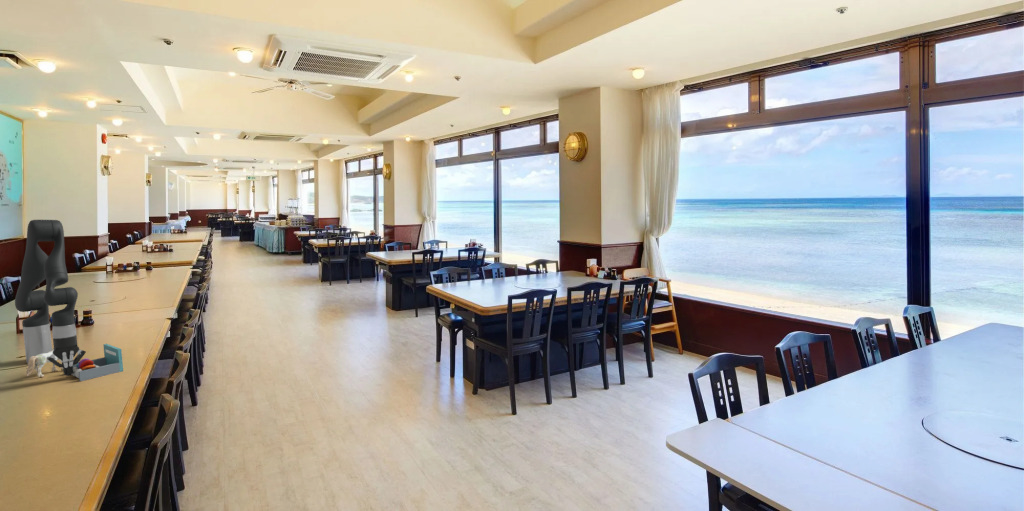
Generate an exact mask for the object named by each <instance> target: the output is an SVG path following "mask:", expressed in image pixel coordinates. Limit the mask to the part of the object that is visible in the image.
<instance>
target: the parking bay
mask: <svg viewBox="0 0 1024 511" xmlns="http://www.w3.org/2000/svg"><path fill="white" fill-rule="evenodd" d="M122 351H123V350H122V348H120V347H118V346H114V345H111V344H108V343H103V353H104V354H103V356H104V357H99V358H95V359H90V360H91V361H93V364H95V365H97V366H99V367H96V368H92V369H87V370H83V371H79V378H78V379H79V380H78V381H79V382H83V381H88V380H92V379H96V378H100V377H101V378H102V377H104V376H109V375H112V374H116V373H120V372H124V363H123V354H122ZM75 367H77V364H75V365H73V368H75Z"/></svg>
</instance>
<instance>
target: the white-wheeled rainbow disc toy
mask: <svg viewBox="0 0 1024 511" xmlns="http://www.w3.org/2000/svg"><path fill="white" fill-rule="evenodd" d="M91 360H92V359H90V358H86V357H84V358H81V360H80V361H79V362H78V364H77V367H75V368H73V374H72V375H71V376H73V377H76V378H78V379H79V371H83V370H87V369H92V368H96V367H99V366H97V365H95V364H93V361H91Z"/></svg>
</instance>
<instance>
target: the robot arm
mask: <svg viewBox="0 0 1024 511" xmlns="http://www.w3.org/2000/svg"><path fill="white" fill-rule="evenodd" d="M26 230H27V231H26V243H25V244H26V245H25V252H24V257H23V261H22V267H21V275H20V281H19V285H18V287H17V291H16V295H15V299H14V306H15V310H17V311H18V312H20V313H26V312H27V313H28V312H34V311H35V313H34V314H32V315H31V316H28V317H27V318H24V319H23V320H22V321H21V323H22V324H21V325H22V333H23V334H22V335H23V341H24V343H23V344H24V352H25V360H26V361H25V362H26V364H28V362H29V358H30V357H32V356H37V355H39V354H44V353H48V352H49V351H51V350H52V349H53V348H54V351H53V354H52V355H51V356H50V357H47V360H49V361H50V362H49V363H52V365H53V364H55V367H58V368H61V367H63V371H62V374H63V375H65V376H66V377H69V376H73V375H72V374H73V365H75V364H78V363H79V362H80V361H81V360H82V359H83V357H84V356H85V355H86V352H87V351H86V350H83V349H80V347H79V345H78V337H77V336H78V335H77V332H78V331H77V329H76V323H75V322H76V321H75V309H76V308H75V307H76V304H77V301H78V295H79V293H78V290H77V289H76V288H75V287H72V286H68V287H67V286H65V287H59V286H63V285H65V284H67V283H68V282H69V276H68V270H67V266H66V253H65V250H66V247H65V231H64V226H63V223H62V221H60V220H58V219H31V220H30V221H29V222H28V224H27V229H26ZM39 242H54V247H53V249H52V250H51V252H50V254H47V253H46V252H45V251H43V249H42V248H41V247H40V245H39V244H38V243H39ZM44 281H46V282H45V283H46V284H45V285H46V286H45V290H44V289H37V290H35V288H36V287H38V286H39V285H40V284H41V283H42V282H44ZM58 287H59V288H58ZM64 305H66V306H65V307H64V308H62V309H59V310H54V311H53V312H51V324H52V330H51V326H50V310H49V307H57V306H64ZM36 311H37V312H36ZM51 332H52V333H51ZM51 335H52V336H51ZM52 342H53V344H52ZM52 345H53V346H52ZM55 356H56V357H57V358H59V359H61V360H60V362H61V363H60V362H58V360H55V359H56V358H55Z"/></svg>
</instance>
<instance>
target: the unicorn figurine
mask: <svg viewBox="0 0 1024 511" xmlns="http://www.w3.org/2000/svg"><path fill="white" fill-rule="evenodd" d="M53 351H54V347H52V350H51V351H49V352H48V353H44V354H39V355H37V356H32V357H30V358H29V362H28V363H27V367H26V371H25V374H26V377H28V376H30V375H31V374H32V373H33V372H34V370H36V374H37V377H38V378H45V377H46V375H44V374H43V373H42V368H43V367H44V366H45V364H46V363H51V362H50V361H49V360H47V357H50V356H51V355H52V354H53ZM55 358H56V359H55V360H56V361H58V360H59V361H61V359H59V358H57V357H56V356H55ZM60 371H61V372H63V367H60ZM51 372H58V368H56V365H55V364H53V363H52V367H51Z"/></svg>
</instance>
